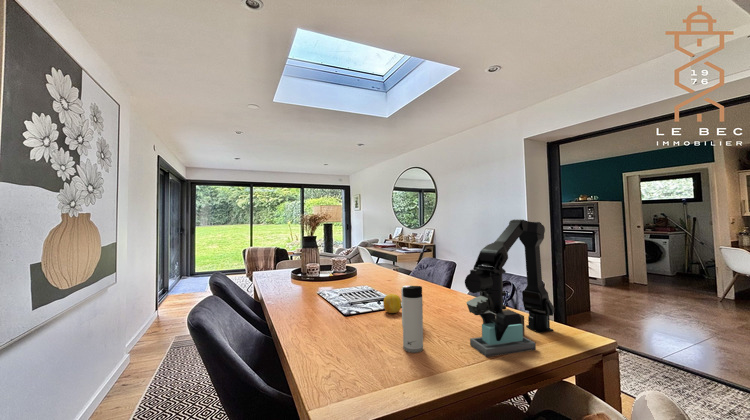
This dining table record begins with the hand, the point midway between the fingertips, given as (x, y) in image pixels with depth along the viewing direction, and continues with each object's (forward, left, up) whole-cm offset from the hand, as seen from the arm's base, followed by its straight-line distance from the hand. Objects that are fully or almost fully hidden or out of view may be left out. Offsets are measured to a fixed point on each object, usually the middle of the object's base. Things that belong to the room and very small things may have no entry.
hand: (493, 338), depth 95 cm
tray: (-3, 0, -3) cm, 4 cm away
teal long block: (-3, 0, -1) cm, 3 cm away
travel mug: (+25, -7, -4) cm, 26 cm away
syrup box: (+18, -28, -4) cm, 33 cm away
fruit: (+20, -44, -4) cm, 48 cm away
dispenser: (-11, -10, -3) cm, 15 cm away
